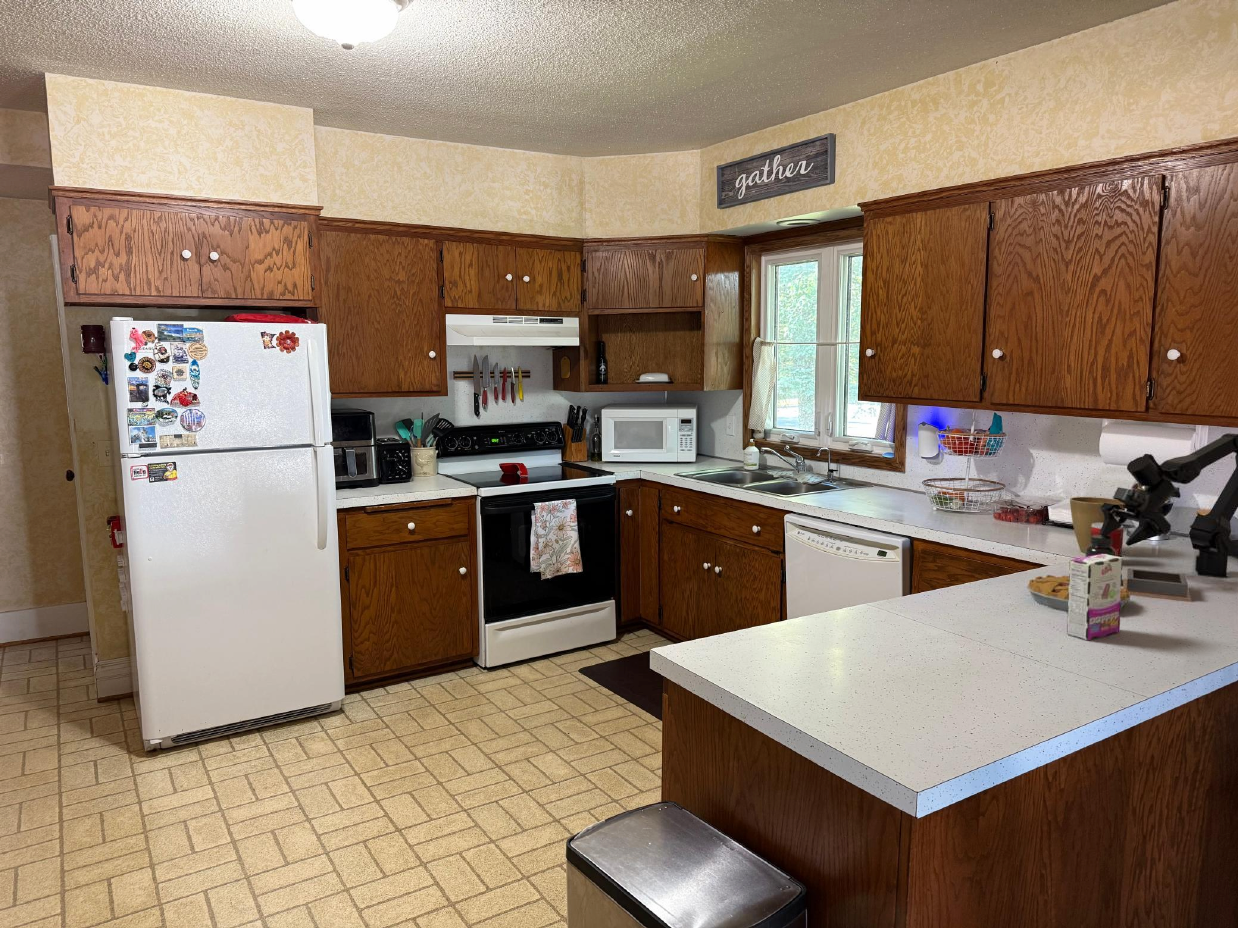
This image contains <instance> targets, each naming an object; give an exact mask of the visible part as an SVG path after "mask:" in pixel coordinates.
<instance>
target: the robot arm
mask: <svg viewBox="0 0 1238 928" xmlns="http://www.w3.org/2000/svg"><path fill="white" fill-rule="evenodd" d="M1232 453H1234V454H1235V459H1234V460H1235V469H1234V470H1233V472H1232V473H1231V475H1230V477H1229V479H1228V480H1227V481H1226V484H1225V486H1224V488H1223V489H1222V491H1221V492H1220V494H1219V495H1218V498H1217V499H1216V501H1215V503H1214V504H1213V506H1212V508H1210V511H1209V512H1208V513H1206V514H1205V515H1202V514H1197V515H1196V516H1195V518H1194V521H1193V522H1192V524H1190V525H1189V528H1190V530H1189V531H1188V535H1189V539H1190V542H1191V545H1192V549H1193V550H1197V551H1198V554H1196V555H1195V560H1194V561H1195V563H1194V564H1195V565H1194V570H1195V572H1196V573H1197V575H1198V576H1208V577H1215V578H1224V577H1225V578H1226V579H1227V578H1229V577H1228V574H1227V573H1228V572H1227V571H1228V561H1229V560H1228V559H1229V557H1230V556H1233V555H1235V554H1236V551H1237V549H1238V548H1237V546H1236V545H1235V543H1234V542H1233V541H1232V540H1231V539H1230V536H1231V533H1232V527H1231V520H1232V518H1233V517H1234V515H1235V513H1236V511H1237V510H1238V433H1230V432H1228V433H1225V434H1223V435H1221V436H1220V437H1219V438H1217V439H1216V440H1214V441H1212V442H1210V443H1209V444H1206V445H1205V446H1202V447H1200V448H1199V449H1197V450H1194V451H1193V452H1191V453H1190V454H1186V455H1182V456H1176V457H1172V458H1170V459H1167V460H1164V461H1162V463H1161V464H1159V463H1158V462H1157V460H1156V458H1155V457H1154V456H1153V454H1151V453H1144V454H1143V456H1142V455H1141V456H1139V457H1136V458H1135V459H1133V460H1130V461H1129V462H1128V464H1127V465H1126V466H1127V467H1126V469H1127V471H1128V472H1129V473H1130V475H1131V476H1132V477H1133V478H1134V480H1135V481H1136V483H1138V484H1139V485H1140V486H1142V487H1145V488H1144V489H1139V488H1137V489H1135V490H1133V489H1129V488H1126V487H1125V488H1124V487H1120V486H1118V487H1117V488H1116V491H1115V492H1114V495H1113V497H1112V499H1115V500H1119V501H1120V502H1122V503H1123V504H1122V506H1123V507H1124V508H1125V511H1123V510H1122V509H1121V507H1120V506H1119V505H1118V504H1114V503H1109V502H1108V503H1104V504H1103V505H1102V506H1101V507H1100V509H1101V511H1102V513H1103V514H1104V522H1103V525H1102V528H1101V531H1100V533H1099V535H1104V536H1108V535H1109V534H1111V533H1112V532H1114V531H1115V530H1117V529H1118V528H1120V527H1121V525H1123V524H1125V523H1126V522H1127V520H1129V521H1134V522H1136V523H1138V526H1137V527H1136V528H1135V530H1134V531H1133V532H1132V533H1131V535H1129V537H1128V539H1127V540H1126V542H1125V545H1126V546H1128V547H1130V546H1133V545H1135V544H1137V543H1140V542H1143V541H1146V540H1149V539H1153V538H1155V537H1160V536H1162V535H1164V536H1167V534H1169V532H1170V531H1172V530H1171V527H1172V524H1171V523H1170V522H1169V521H1168V519H1166V516H1164V514H1163V513H1162V512H1163V511H1164V508H1162V507H1163V505H1165V503H1166V502H1168V500H1169V499H1170V498H1171V497H1172V498H1176V499H1180V498H1181V497H1182V496H1181V492H1180V487H1176V486H1175V485H1174V484H1173V483H1175V484H1182V485H1187V484H1190V483H1191V482H1193V481H1194V480H1196V479H1197V478H1198V477H1199V476H1200V475H1201V473H1202V471H1203V470H1204V469H1205V468H1206V467H1208V466H1210V465H1213V464H1214V463H1216V462H1218V461H1219V460H1221V459H1223V458H1225V457H1227V456H1229V455H1231V454H1232Z"/></svg>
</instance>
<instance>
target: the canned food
mask: <svg viewBox="0 0 1238 928" xmlns="http://www.w3.org/2000/svg"><path fill="white" fill-rule="evenodd" d="M1102 525H1103V523H1093V524H1092V526H1091V536H1093V535H1099V533H1100V531H1101V528H1102ZM1108 536H1109V537H1112V545H1111V547H1112V548H1114V550H1115V551H1116V556H1117V557H1122V558H1123V543H1124V526H1123V524H1121V527H1120V528H1118V529H1117V530H1115V531H1114V532H1112V533H1111V534H1109V535H1108ZM1090 541H1091V540H1090ZM1090 545H1091V543H1090Z"/></svg>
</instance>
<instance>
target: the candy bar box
mask: <svg viewBox="0 0 1238 928" xmlns="http://www.w3.org/2000/svg"><path fill="white" fill-rule="evenodd" d="M1123 559H1124V558H1123V556H1122V557H1117V556H1113V555H1108V554H1099V555H1093V556H1088V557H1085V556H1084V557H1078V558H1073V559H1070V560H1069V571H1068V572H1069V575H1068V576H1069V599H1068V611H1067V625H1066V629H1067V630H1066V634H1067V635H1068V636H1070V637H1073V638H1077V639H1080V640H1084V641H1085V640H1086V641H1090V640H1095V639H1099V638H1103V637H1107V636H1110V635H1114V634H1118V633H1121V631H1120V630H1121V629H1120V626H1121V610H1122V609H1121V588H1123V565H1124V564H1123V561H1124V560H1123ZM1120 609H1121V610H1120Z"/></svg>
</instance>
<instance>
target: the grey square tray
mask: <svg viewBox="0 0 1238 928" xmlns="http://www.w3.org/2000/svg"><path fill="white" fill-rule="evenodd" d="M1126 574H1127V575H1126V578H1122V588H1125V589H1127V590H1128V593H1129V594H1130V596H1138V597H1147V598H1155V599H1165V600H1174V601H1184V602H1192V596H1191V593H1190V590H1189V585H1188V581H1187V577H1186V574H1185V573H1178V572H1169V571H1168V572H1167V571H1157V570H1150V569H1149V570H1147V569H1139V568H1138V569H1137V568H1128V567H1127V573H1126Z"/></svg>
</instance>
